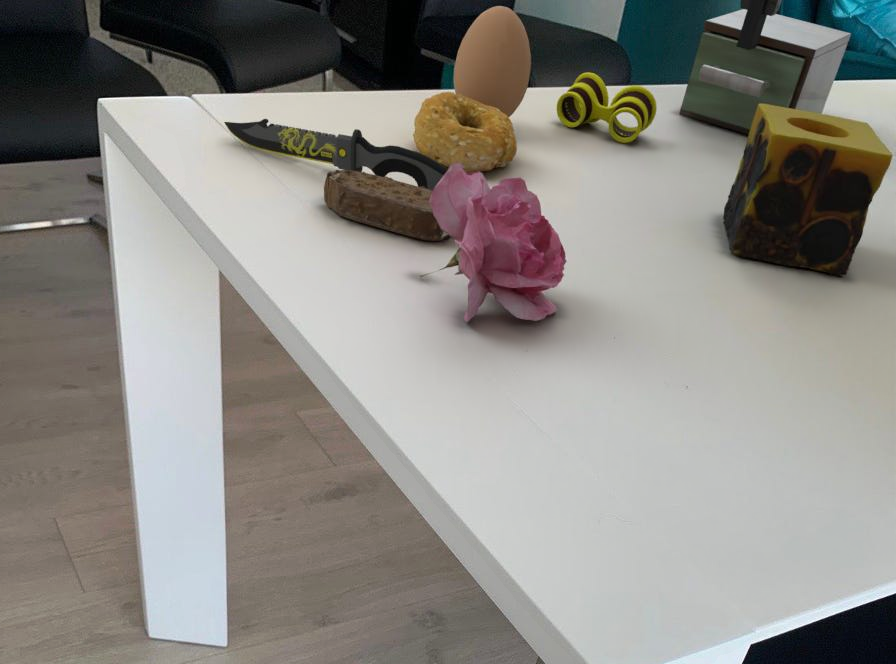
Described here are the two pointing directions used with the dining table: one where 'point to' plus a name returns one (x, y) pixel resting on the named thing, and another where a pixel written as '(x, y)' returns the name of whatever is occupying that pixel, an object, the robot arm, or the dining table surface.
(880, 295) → the dining table surface
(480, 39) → the egg
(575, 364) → the dining table surface
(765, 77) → the drawer
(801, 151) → the candle
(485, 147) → the bagel
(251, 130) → the knife
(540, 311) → the flower
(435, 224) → the ice cream bar
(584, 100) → the opera glasses
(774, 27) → the cabinet
